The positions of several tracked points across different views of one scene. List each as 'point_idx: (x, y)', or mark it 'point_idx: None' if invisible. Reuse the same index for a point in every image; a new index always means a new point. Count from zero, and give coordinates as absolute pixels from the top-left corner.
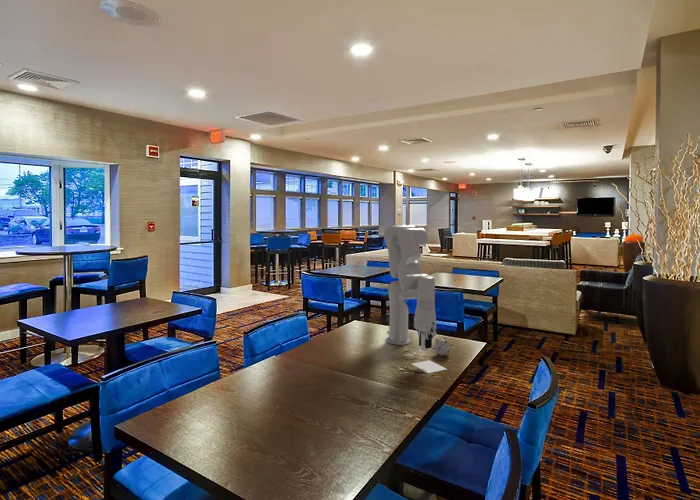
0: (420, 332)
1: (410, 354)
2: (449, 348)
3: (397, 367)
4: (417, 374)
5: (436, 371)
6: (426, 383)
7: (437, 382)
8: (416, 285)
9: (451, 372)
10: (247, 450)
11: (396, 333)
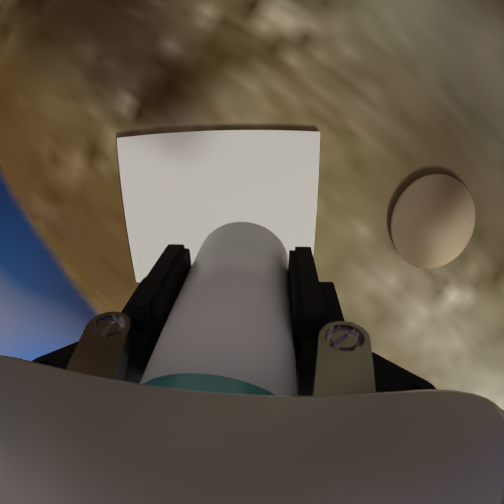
0: (314, 389)
1: (452, 251)
2: None
3: (314, 12)
4: (137, 66)
5: (124, 203)
6: (30, 62)
7: (21, 122)
8: None
9: (100, 271)
10: None
11: None
